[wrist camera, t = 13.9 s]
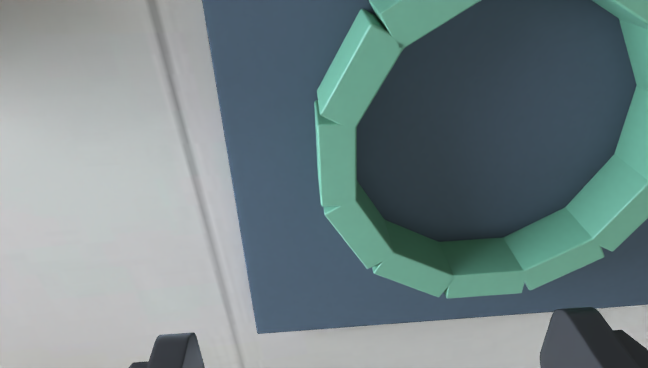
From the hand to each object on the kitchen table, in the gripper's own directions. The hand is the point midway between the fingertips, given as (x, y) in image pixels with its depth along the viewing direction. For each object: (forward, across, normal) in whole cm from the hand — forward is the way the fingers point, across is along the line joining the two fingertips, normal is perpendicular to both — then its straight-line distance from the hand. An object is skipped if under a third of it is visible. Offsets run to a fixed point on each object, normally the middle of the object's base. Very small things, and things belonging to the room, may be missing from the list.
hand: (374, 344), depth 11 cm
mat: (+11, -6, 0) cm, 13 cm away
